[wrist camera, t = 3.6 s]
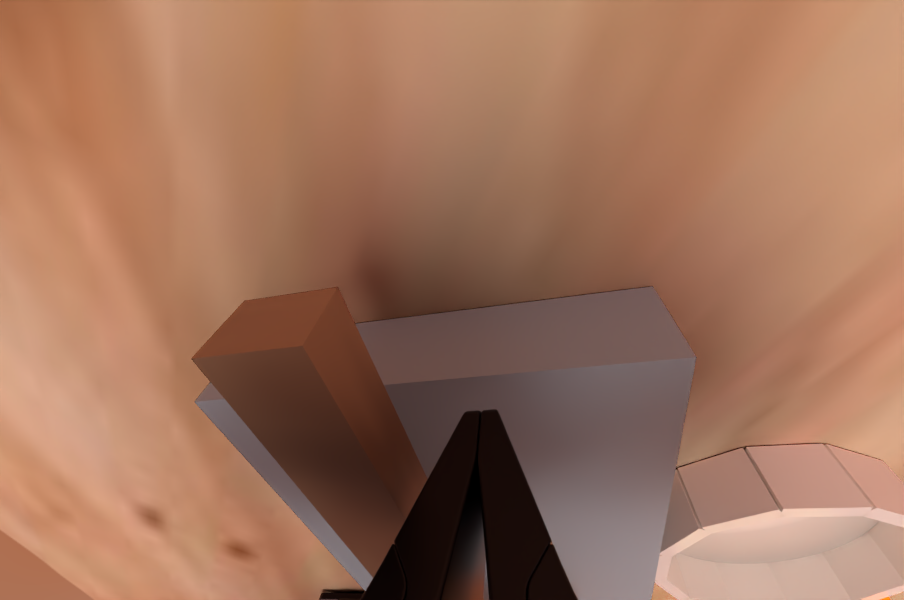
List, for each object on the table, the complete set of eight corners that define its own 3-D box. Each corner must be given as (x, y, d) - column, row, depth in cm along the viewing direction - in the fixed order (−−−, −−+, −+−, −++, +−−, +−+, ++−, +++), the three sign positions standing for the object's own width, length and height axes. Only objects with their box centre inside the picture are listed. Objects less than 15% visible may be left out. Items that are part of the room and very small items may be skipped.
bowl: (845, 558, 19) (884, 617, 18) (633, 557, 22) (646, 609, 20) (944, 437, 14) (1017, 504, 12) (643, 451, 16) (664, 510, 14)
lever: (516, 647, 19) (517, 692, 18) (458, 644, 20) (455, 688, 18) (363, 282, 7) (332, 342, 6) (222, 304, 8) (166, 361, 6)
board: (631, 535, 20) (655, 627, 17) (383, 536, 23) (366, 615, 20) (652, 286, 11) (712, 382, 8) (246, 337, 14) (176, 423, 11)
